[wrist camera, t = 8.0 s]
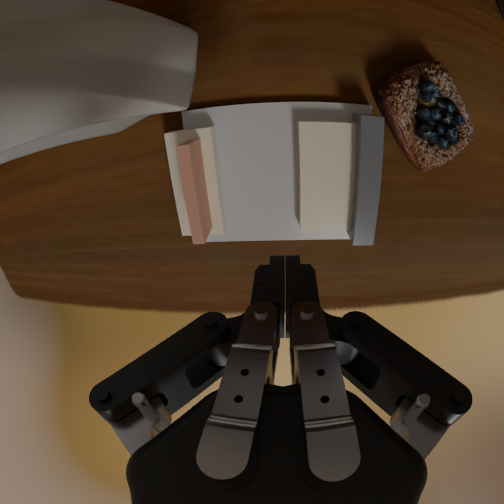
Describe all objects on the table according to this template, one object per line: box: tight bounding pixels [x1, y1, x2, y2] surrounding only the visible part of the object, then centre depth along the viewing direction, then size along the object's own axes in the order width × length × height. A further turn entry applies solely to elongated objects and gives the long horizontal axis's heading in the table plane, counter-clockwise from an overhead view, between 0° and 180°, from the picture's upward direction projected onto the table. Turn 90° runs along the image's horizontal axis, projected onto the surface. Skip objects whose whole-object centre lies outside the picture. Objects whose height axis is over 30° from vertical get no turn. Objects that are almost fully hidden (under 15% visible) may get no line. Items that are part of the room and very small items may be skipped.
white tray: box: [181, 102, 384, 245], centre depth 28 cm, size 20×16×4 cm
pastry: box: [373, 60, 474, 172], centre depth 21 cm, size 11×12×6 cm
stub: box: [164, 126, 226, 244], centre depth 27 cm, size 5×12×5 cm, turn 4°
